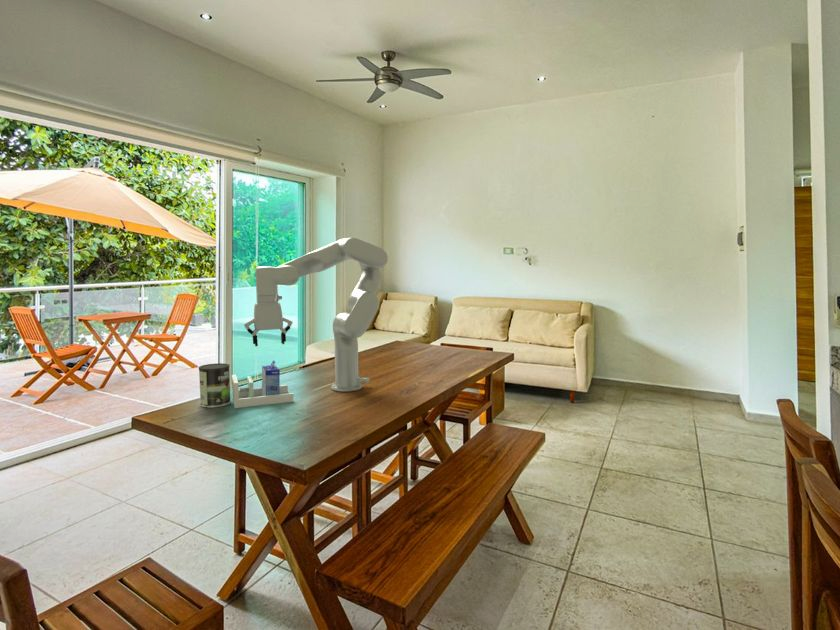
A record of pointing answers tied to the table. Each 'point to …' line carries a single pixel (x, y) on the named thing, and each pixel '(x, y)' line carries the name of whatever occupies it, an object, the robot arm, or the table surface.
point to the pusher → (250, 387)
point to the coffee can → (214, 385)
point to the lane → (259, 400)
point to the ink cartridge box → (270, 380)
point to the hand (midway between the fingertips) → (269, 344)
